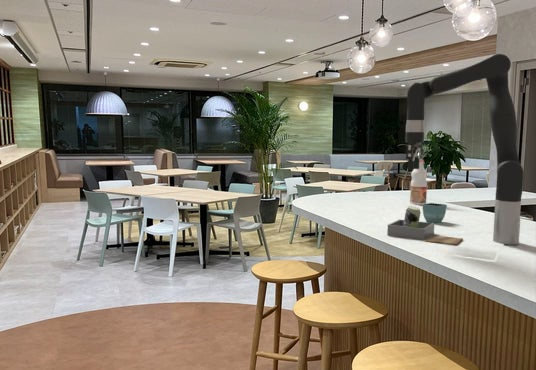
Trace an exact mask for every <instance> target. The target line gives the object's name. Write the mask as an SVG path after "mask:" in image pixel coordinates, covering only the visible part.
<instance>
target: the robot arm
mask: <svg viewBox="0 0 536 370" xmlns="http://www.w3.org/2000/svg"><path fill="white" fill-rule="evenodd" d="M511 65H512V64H511V60H510V57H508V56H507V55H505V54H501V53H495V54H493V55H491V56H489V57H488V58H486V59H483V60H481V61H480V62H476V63H474V64H472V65H469V66H467V67H464V68H460V69H457V70H454V71H453V70H452V71H450V72H447V73H444V74H440V75H437V76H435V77H432V78H431V79H429V80H426V81H425V80H424V81H422V82H413V83H411V84H410V85H409V86H408V87H407V92H406V94H407V96H406V98H407V110H406V111H407V112H406V124H405V143H409V144H407V145H406V152H405V160H407V170H408V171H413V170H414V169H419V160H422V154H423V153H422V151H423V150H422V148H423V146H422V143H424V142H425V99H427V98H430V97H431V96H434V95H438V94H439V95H440V94H443V93H446V92H449V91H452V90H455V89H457V88H461V87H463V86H465V85H467V84H470V83H472V82H473V83H474V82H476V81H481V80H483V79H485V81H486V85H487V89H488V102H489V103H488V105H489V106H488V107H489V118H490V121H489V122H490V127H491V132H492V133H491V134H492V137H493V143H494V144H495V149H496V189H495V198H494V199H495V200H494V214H493V215H494V218H493V232H492V233H493V236H492V237H493V238H492V241H493V243H494V242H495V243H498V244H504V245H510V246H511V245H516V246H518V244H519V243H520V235H521V234H520V233H521V232H520V231H521V230H520V228H521V205H522V194H523V187H524V186H523V184H524V169H523V167H522V165H521V162H520V159H519V155H518V150H517V140H518V139H517V137H518V125H517V123H518V121H517V115H516V110H515V109H516V108H515V105H514V102H513V99H512V96H511V94H510V88H509V72H510V70H511ZM420 143H421V144H420Z"/></svg>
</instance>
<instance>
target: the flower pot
mask: <svg viewBox="0 0 536 370" xmlns="http://www.w3.org/2000/svg"><path fill="white" fill-rule="evenodd" d="M421 206H422V214H423V218H424V220H425V222H428V223H434V224H438V223H442V221H443V220H444V218H445V217H446V216H445V215H446V212H447V206H448V205H447V204H445V203H444V204H443V203H436V202H435V203H434V202H429V203H427V202H426V204H422V205H421Z"/></svg>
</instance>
